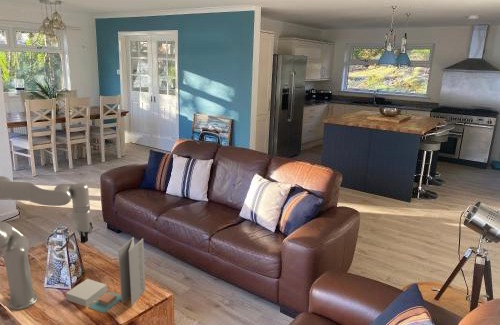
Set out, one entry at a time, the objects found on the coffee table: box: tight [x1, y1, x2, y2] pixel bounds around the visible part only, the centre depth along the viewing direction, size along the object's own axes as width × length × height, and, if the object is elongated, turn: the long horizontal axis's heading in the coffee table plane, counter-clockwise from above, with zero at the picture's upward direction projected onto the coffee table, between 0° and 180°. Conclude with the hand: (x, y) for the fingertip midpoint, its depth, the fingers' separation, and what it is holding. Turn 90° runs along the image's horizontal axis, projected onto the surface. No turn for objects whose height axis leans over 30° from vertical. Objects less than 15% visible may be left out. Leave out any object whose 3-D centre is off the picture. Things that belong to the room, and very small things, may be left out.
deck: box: [65, 278, 108, 308], centre depth 191 cm, size 13×14×4 cm
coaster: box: [97, 292, 116, 306], centre depth 188 cm, size 6×6×2 cm
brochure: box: [117, 236, 146, 307], centre depth 188 cm, size 14×6×30 cm, turn 168°
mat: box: [87, 291, 122, 314], centre depth 187 cm, size 10×14×1 cm
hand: (84, 241), depth 191 cm, fingers closed
